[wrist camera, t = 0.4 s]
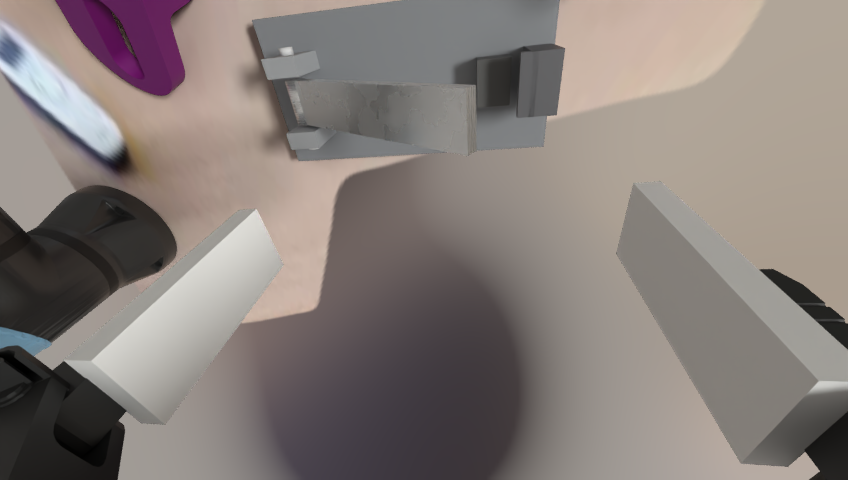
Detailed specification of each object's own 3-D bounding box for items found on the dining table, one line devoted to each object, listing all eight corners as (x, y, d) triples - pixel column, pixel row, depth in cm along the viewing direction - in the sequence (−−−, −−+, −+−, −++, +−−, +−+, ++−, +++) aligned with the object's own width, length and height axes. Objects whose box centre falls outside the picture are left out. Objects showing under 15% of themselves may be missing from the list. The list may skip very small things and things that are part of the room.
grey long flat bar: (310, 119, 34) (294, 124, 33) (297, 77, 32) (281, 80, 31) (479, 148, 22) (464, 158, 21) (479, 83, 19) (462, 89, 18)
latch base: (305, 155, 40) (279, 178, 35) (262, 19, 32) (219, 21, 27) (540, 140, 36) (553, 164, 30) (556, -19, 28) (578, -27, 23)
